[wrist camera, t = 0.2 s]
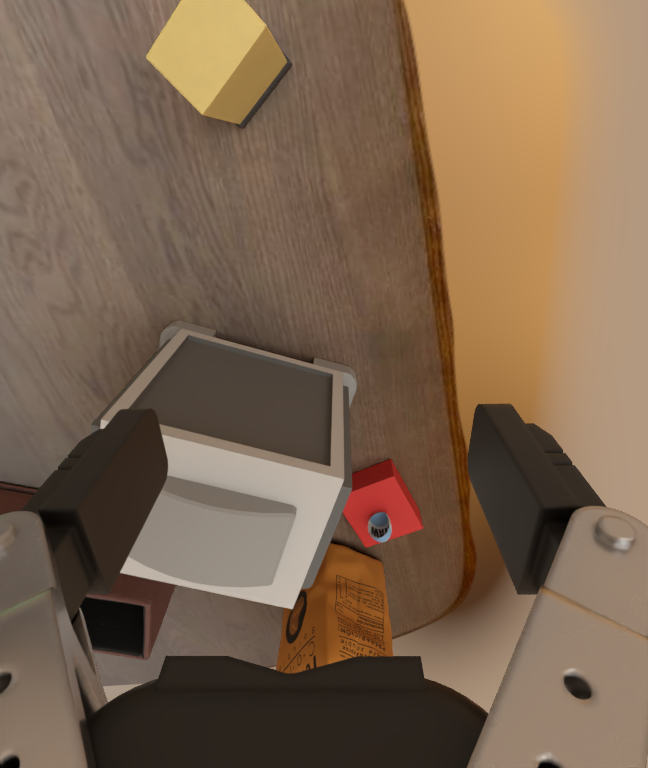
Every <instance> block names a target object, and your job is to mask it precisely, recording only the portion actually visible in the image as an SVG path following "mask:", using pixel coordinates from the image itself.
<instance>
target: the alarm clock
mask: <svg viewBox="0 0 648 768" xmlns="http://www.w3.org/2000/svg"><path fill="white" fill-rule="evenodd" d="M216 331H217V330H214V329H210V328H206V327H203V326H199V325H195V324H192V323H188V322H184V321H181V320H177V321H173V322H171V323H170V324H169V325H168V326H167V327H166V328H165V329H164V330H163V332H162V333H161V334H160V340H159V349H158V351H157V352H156V353H155V354H154V355H153V357H152V358H151V359H150V360H149V361H148V362H147V363H146V364H145V365H144V367H143V368H142V369H141V370H140V371H139V372H138V373H137V374H136V375H135V377H134V378H133V379H132V380H131V381H130V382H129V383H128V384H127V385H126V387H125V388H124V389H123V390H122V391H121V392H120V393H119V394H118V395H117V397H116V398H115V399H114V400H113V401H112V402H111V403H110V404H109V405H108V407H107V408H106V409H105V410H104V411H103V412H102V413H101V414H100V415H99V417H98V418H97V419H96V420H95V421H94V422H93V423H92V424H91V434H92V433H94V432H95V431H97V430H98V429H104V428H105V427H106V426H107V424H108V423H109V422H110V421H111V419H112V418H113V417H114V416H115V415H116V413H117V412H118V411H119V410H121V409H153V410H154V411H155V412H156V414H157V417H158V421H159V425H160V429H161V433H162V437H163V442H164V446H165V450H166V454H167V459H168V474H167V479H166V482H165V484H164V486H163V488H162V490H161V492H160V494H159V496H158V498H157V500H156V502H155V504H154V506H153V508H152V510H151V512H150V514H149V516H148V518H147V520H146V522H145V524H144V526H143V528H142V530H141V532H140V534H139V536H138V538H137V540H136V542H135V544H134V546H133V548H132V550H131V552H130V554H129V556H128V558H127V560H126V562H125V564H124V566H123V568H122V570H121V572H120V573H123V574H128V575H132V576H137V577H142V578H147V579H151V580H156V581H161V582H166V583H170V584H175V585H180V586H184V587H189V588H194V589H199V590H203V591H208V592H213V593H218V594H222V595H227V596H232V597H237V598H241V599H246V600H251V601H255V602H260V603H265V604H270V605H274V606H279V607H284V608H289V609H293V607H294V605H295V602H296V600H297V597H298V595H299V592H300V590H301V589H308V588H310V587H311V586H312V585H313V582H314V580H315V578H316V575H317V573H318V570H319V568H320V566H321V563H322V561H323V558H324V556H325V553H326V551H327V549H328V546H329V544H330V541H331V539H332V537H333V534H334V532H335V529H336V527H337V524H338V522H339V520H340V517H341V515H342V512H343V510H344V508H345V505H346V503H347V500H348V498H349V495H350V493H351V491H352V466H351V439H350V413H349V408H350V405H351V402H352V400H353V397H354V394H355V392H356V389H357V379H356V375H355V371H354V370H353V369H352V368H351V367H349V366H345V365H342V364H338V363H334V362H331V361H327V360H323V359H320V358H316V357H314V360H313V364H311V363H307V362H303V361H300V360H296V359H292V358H288V357H285V356H281V355H277V354H274V353H270V352H266V351H263V350H259V349H255V348H252V347H248V346H244V345H241V344H237V343H233V342H230V341H226V340H222V339H219V338H215V336H216Z"/></svg>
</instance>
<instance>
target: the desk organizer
mask: <svg viewBox="0 0 648 768" xmlns="http://www.w3.org/2000/svg"><path fill="white" fill-rule="evenodd" d="M37 491H38V489H33V488H27V487H21V486H16V485H11V484H5V483H0V515H2V514H6V513H10V512H16V511H20V510H21V509H22V508H23V507H24V506H25V505H26V503H27V502H28V501H29V500H30V499H31V498H32V497H33V495H34V494H35V493H36V492H37ZM175 586H176V585H175V584H170V583H166V582H161V581H156V580H151V579H147V578H142V577H137V576H132V575H128V574H123V573H120V574H119V576H118V578H117V580H116V582H115V584H114V586H113V588H112V590H111V592H110V594H87V595H86V597H85V598H84V600H83V602H82V604H81V606H80V608H81V611H82V613H83V615H84V619H85V623H86V627H87V630H88V634H89V638H90V642H91V645H92V649H93V652H98V653H105V654H111V655H117V656H124V657H129V658H135V659H141V660H148V659H149V657H150V654H151V651H152V648H153V646H154V643H155V641H156V638H157V635H158V632H159V630H160V627H161V624H162V621H163V618H164V616H165V613H166V610H167V607H168V605H169V602H170V599H171V596H172V594H173V591H174V589H175Z"/></svg>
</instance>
